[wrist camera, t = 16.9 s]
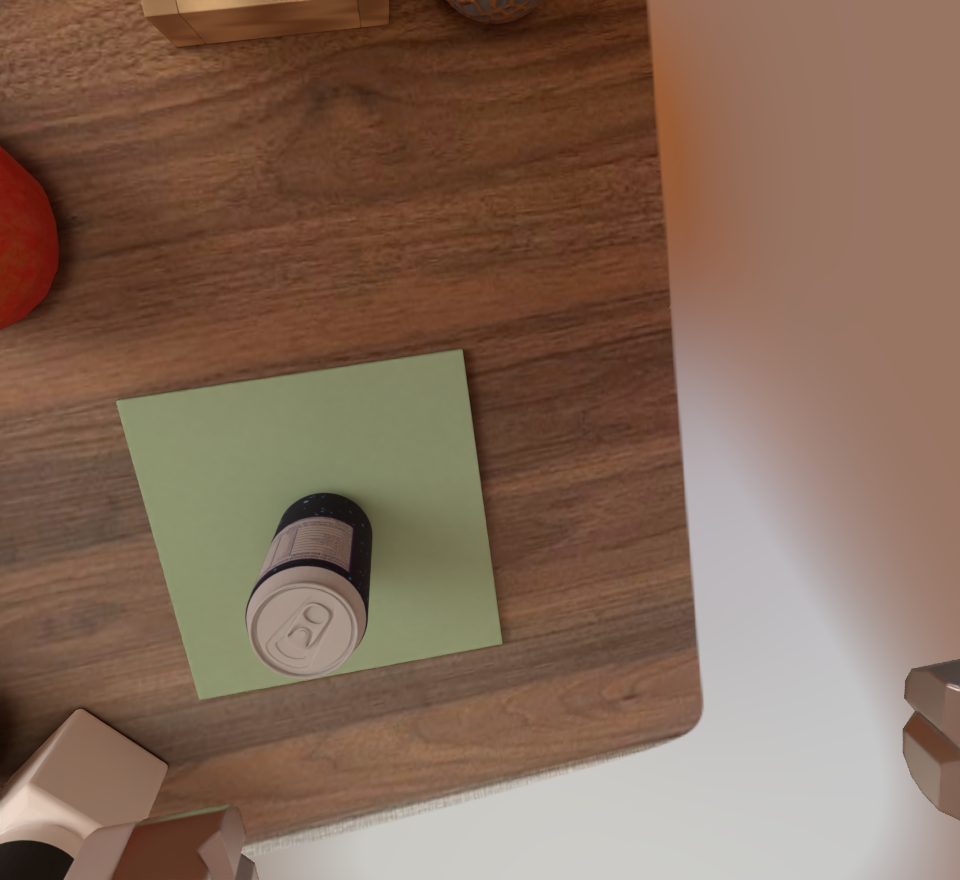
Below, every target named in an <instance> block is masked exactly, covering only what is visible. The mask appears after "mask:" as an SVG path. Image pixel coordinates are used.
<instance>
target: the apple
mask: <svg viewBox="0 0 960 880" xmlns="http://www.w3.org/2000/svg"><path fill="white" fill-rule="evenodd" d="M58 262H59V245H58V236H57V227H56V220H55V218H54V215H53V212H52V209H51V206H50V203H49V200H48V197H47V195H46V193H45V191H44V190H43V188H42V186H41V184H40V183H39V182H38V181H37V180H36V179H35V178H33V177H32V176H31V175H30V174H29V173H28V172H27V171H26V170H25V169H24V168H23V167H22V166H21V165H20V164H19V163H18V162H17V161H16V160H15V159H14V158H13V157H12V156H11V155H9V154H8V153H7V152H6V151H5V150H4V149H3V148H2V147H1V146H0V330H1V329H3V328H5V327H7V326H9V325H11V324H13V323H15V322H17V321H19V320H21V319H23V318H24V317H25V316H26V315H27V314H28V313H29V312H30V311H31V310H32V309H33V308H34V307H35V306H36V305H37V304H38V303H39V302H40V301H42V300H43V299H44V298H45V297H46V296H47V294H48V291H49V289H50V286H51V283H52V281H53V278H54V276H55V273H56V271H57V268H58Z"/></svg>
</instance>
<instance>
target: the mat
mask: <svg viewBox="0 0 960 880" xmlns="http://www.w3.org/2000/svg"><path fill="white" fill-rule="evenodd" d="M116 404H117V407H118V411H119V414H120V418H121V422H122V425H123V429H124V432H125V436H126V440H127V443H128V447H129V450H130V454H131V457H132V461H133V465H134V468H135V472H136V475H137V479H138V483H139V486H140V490H141V493H142V497H143V500H144V504H145V508H146V511H147V515H148V518H149V522H150V525H151V529H152V533H153V536H154V540H155V543H156V547H157V551H158V554H159V558H160V561H161V565H162V568H163V572H164V576H165V579H166V583H167V586H168V590H169V593H170V597H171V601H172V604H173V608H174V611H175V615H176V619H177V622H178V626H179V629H180V633H181V636H182V640H183V644H184V647H185V651H186V654H187V658H188V662H189V665H190V669H191V672H192V676H193V679H194V683H195V687H196V690H197V694H198V697H199V700H203V699H208V698H213V697H219V696H224V695H230V694H235V693H240V692H246V691H251V690H257V689H262V688H267V687H273V686H278V685H284V684H289V683H295V682H300V681H305V680H311V679H316V678H311V679H296V678H289V677H286V676H283V675H280V674H278V673H276V672H274V671H272V670H271V669H269V668H268V667H267V666H265V665H264V664H263V663H262V662H261V661H260V659H259V658H258V657H257V656H256V654H255V652H254V650H253V648H252V645H251V643H250V638H249V634H248V631H247V628H246V621H245V613H246V607H247V603H248V600H249V598H250V595H251V593H252V590H253V588H254V585H255V583H256V580H257V577H258V575H259V572H260V570H261V567H262V565H263V562H264V560H265V557H266V555H267V552H268V550H269V547H270V545H271V542H272V540H273V537H274V535H275V532H276V530H277V527H278V525H279V522H280V520H281V518H282V516H283V514H284V513H285V511H286V510H287V509H288V508H289V507H290V506H291V505H292V504H293V503H295V502H296V501H298V500H299V499H301V498H303V497H305V496H308V495H312V494H316V493H333V494H338V495H341V496H344V497H346V498H348V499H350V500H352V501H353V502H355V503H356V504H357V505H358V506H359V507H360V508H361V509H362V510H363V511H364V512H365V514H366V515H367V517H368V519H369V521H370V524H371V527H372V535H373V538H372V556H371V574H370V592H369V609H368V623H367V628H366V632H365V635H364V637H363V639H362V641H361V642H360V644H359V645H358V647H357V648H356V649H355V650H354V651H353V653H352V654H351V656H350V657H349V658H348V659H347V661H346V662H345V663H344V664H343V665H341V666H340V667H339V668H338V669H336V670H334V671H333V672H331V673H329V674H326V675H324V676H321V677H317V678H322V677H327V676H332V675H338V674H343V673H349V672H354V671H359V670H365V669H370V668H376V667H381V666H386V665H392V664H397V663H403V662H408V661H413V660H419V659H424V658H430V657H435V656H440V655H446V654H451V653H457V652H462V651H468V650H473V649H478V648H484V647H489V646H495V645H500V644H502V635H501V628H500V620H499V613H498V606H497V598H496V591H495V584H494V576H493V569H492V562H491V554H490V547H489V539H488V532H487V525H486V517H485V510H484V503H483V495H482V488H481V481H480V473H479V466H478V459H477V451H476V444H475V436H474V429H473V422H472V414H471V407H470V400H469V392H468V385H467V378H466V370H465V363H464V355H463V350H462V349H455V350H449V351H442V352H435V353H428V354H421V355H415V356H408V357H401V358H394V359H388V360H381V361H374V362H367V363H360V364H354V365H347V366H340V367H333V368H327V369H320V370H313V371H306V372H299V373H293V374H286V375H279V376H272V377H266V378H259V379H252V380H245V381H238V382H232V383H225V384H218V385H211V386H205V387H198V388H191V389H184V390H177V391H171V392H164V393H157V394H150V395H144V396H137V397H130V398H123V399H118V400H117V401H116Z"/></svg>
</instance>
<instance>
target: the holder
mask: <svg viewBox="0 0 960 880" xmlns="http://www.w3.org/2000/svg"><path fill="white" fill-rule="evenodd" d="M141 2H142V7H143V11H144V15H145V17H146V18H147V19H148V20H149V21H150V22H151V23H152V24H153V25H154V26H155V27H156V28H157V29H158V30H159V31H160V32H162V33H163V34H164V35H165V36H166V37H167V38H168V39H169V40H170V41H171V42H172V43H173V44H174V45H175V46H176V47H184V46H193V45H203V44H211V43H221V42H230V41H239V40H249V39H258V38H268V37H277V36H286V35H296V34H305V33H315V32H324V31H333V30H343V29H352V28H360V27H370V26H380V25H388V24H389V0H141Z"/></svg>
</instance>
